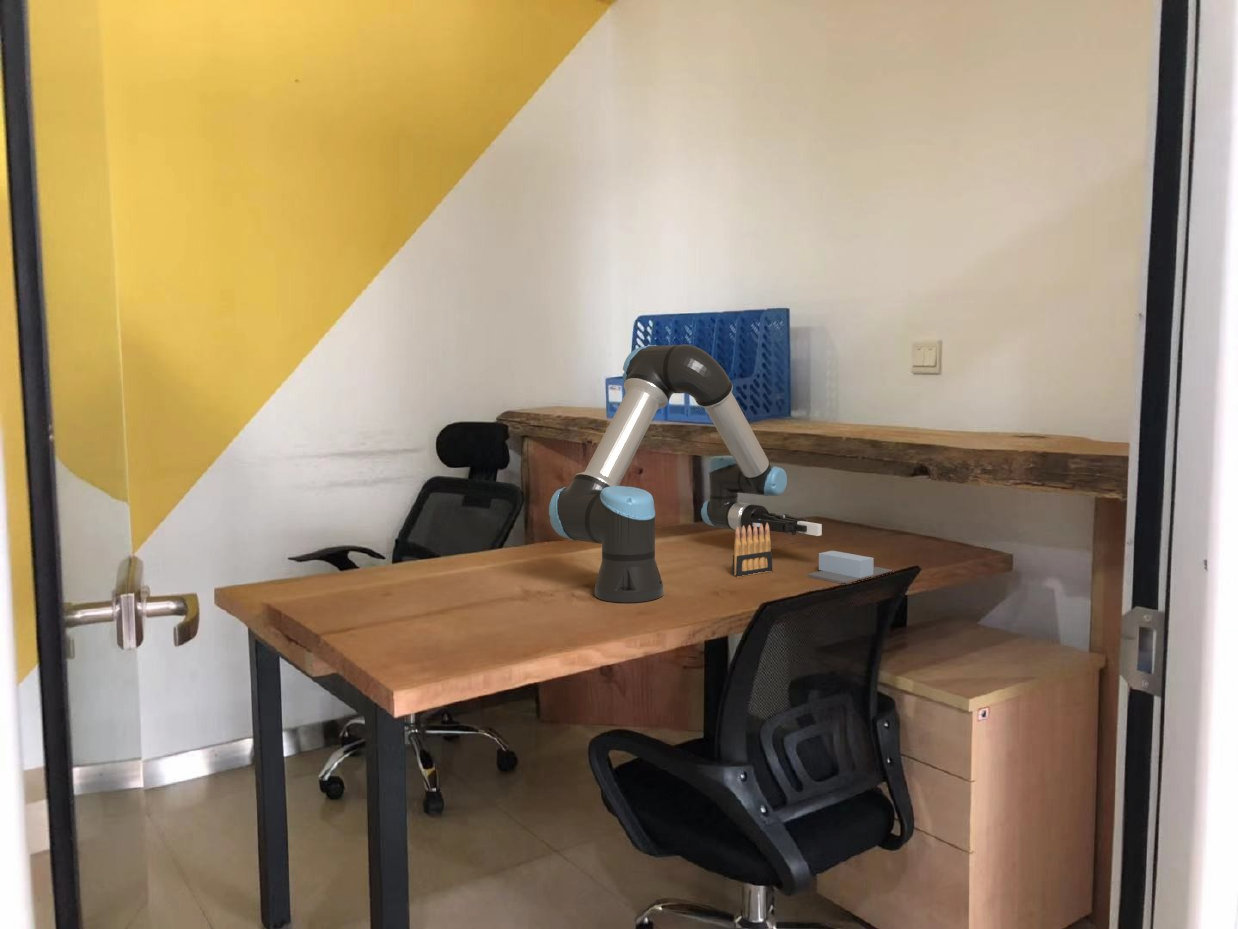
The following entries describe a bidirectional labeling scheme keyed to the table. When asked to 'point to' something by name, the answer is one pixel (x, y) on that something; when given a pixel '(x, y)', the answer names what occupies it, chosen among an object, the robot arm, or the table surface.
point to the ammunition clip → (752, 551)
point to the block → (846, 564)
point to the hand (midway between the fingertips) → (819, 530)
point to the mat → (844, 578)
